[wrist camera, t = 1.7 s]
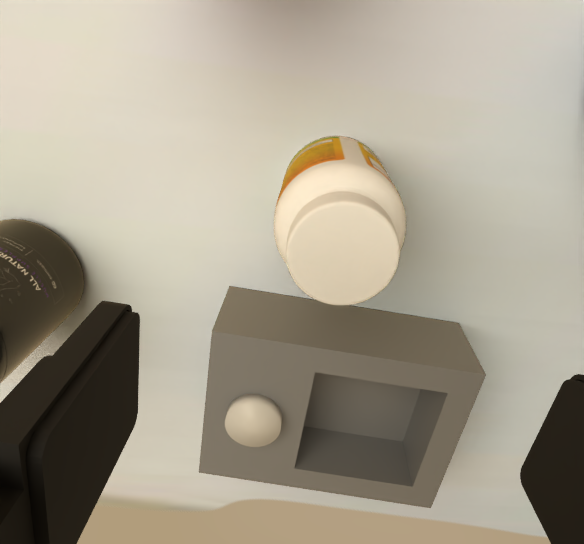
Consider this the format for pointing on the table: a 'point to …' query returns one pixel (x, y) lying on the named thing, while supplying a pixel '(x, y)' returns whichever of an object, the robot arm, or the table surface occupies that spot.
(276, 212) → the supplement bottle
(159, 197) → the table surface
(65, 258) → the supplement bottle
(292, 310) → the grey hollow block
